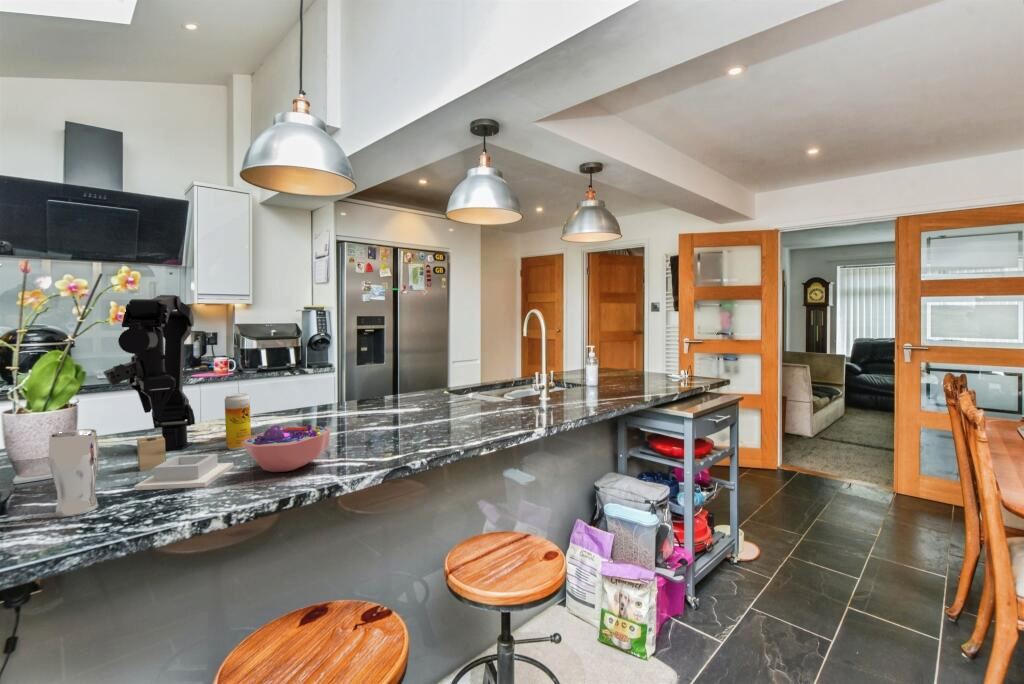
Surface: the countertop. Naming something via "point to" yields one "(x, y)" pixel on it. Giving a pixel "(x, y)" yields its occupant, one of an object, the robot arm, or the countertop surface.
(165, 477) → the socket plate
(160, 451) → the tan block
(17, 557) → the countertop surface
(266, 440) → the cell model
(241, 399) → the beer can
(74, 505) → the beer glass
